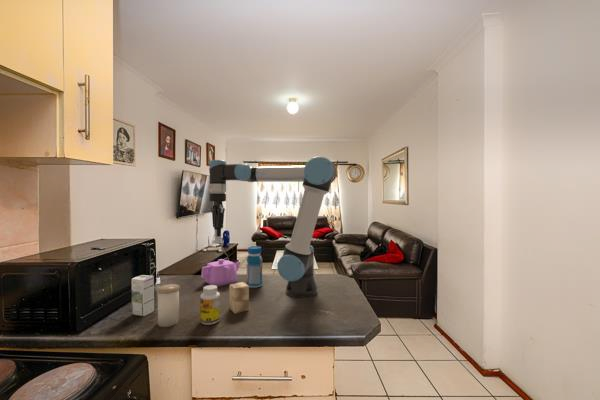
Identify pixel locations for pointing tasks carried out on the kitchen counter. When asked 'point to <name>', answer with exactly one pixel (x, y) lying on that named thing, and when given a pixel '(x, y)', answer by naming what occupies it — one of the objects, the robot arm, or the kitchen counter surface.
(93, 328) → the kitchen counter surface
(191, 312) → the kitchen counter surface
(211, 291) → the supplement bottle
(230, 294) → the beech block
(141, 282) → the syrup box
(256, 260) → the beverage bottle
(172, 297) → the cream jar
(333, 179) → the robot arm
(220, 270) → the teakettle
